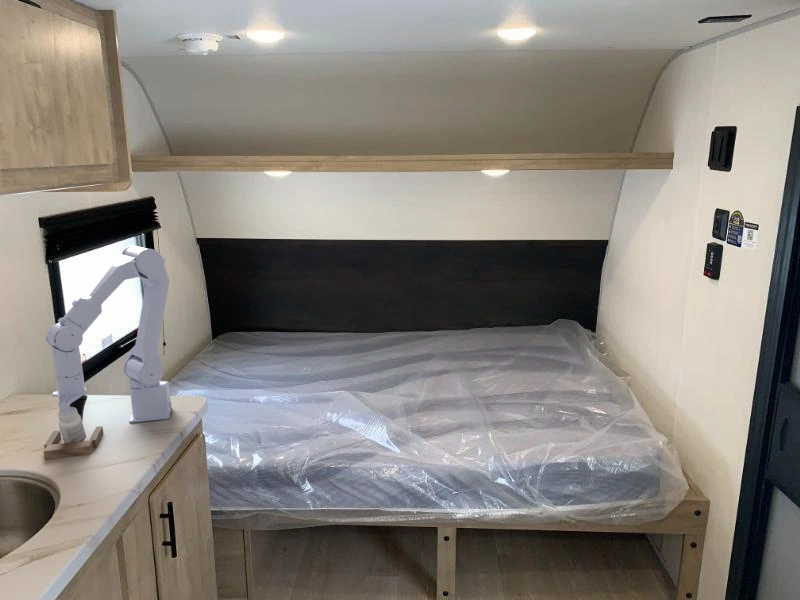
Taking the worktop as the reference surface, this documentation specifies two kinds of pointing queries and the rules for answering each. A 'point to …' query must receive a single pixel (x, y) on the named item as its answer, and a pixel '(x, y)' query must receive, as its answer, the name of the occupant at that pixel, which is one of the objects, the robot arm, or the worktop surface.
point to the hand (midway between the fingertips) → (76, 427)
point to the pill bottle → (71, 426)
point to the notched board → (71, 445)
